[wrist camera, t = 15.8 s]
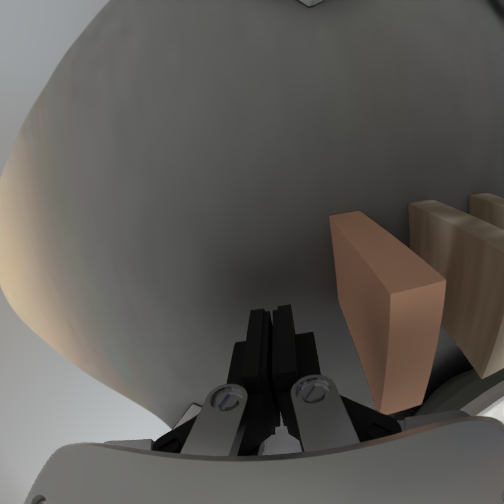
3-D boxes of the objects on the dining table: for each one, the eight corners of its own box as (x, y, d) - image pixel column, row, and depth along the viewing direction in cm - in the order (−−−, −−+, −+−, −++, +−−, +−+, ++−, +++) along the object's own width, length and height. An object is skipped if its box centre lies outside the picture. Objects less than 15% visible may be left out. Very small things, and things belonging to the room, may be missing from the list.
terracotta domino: (338, 301, 19) (378, 417, 9) (328, 215, 17) (390, 294, 7) (365, 295, 18) (421, 404, 9) (359, 210, 16) (446, 280, 7)
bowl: (400, 458, 27) (412, 504, 19) (351, 405, 22) (366, 478, 15) (510, 386, 22) (535, 424, 14) (509, 295, 17) (559, 341, 10)
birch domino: (432, 199, 16) (540, 250, 6) (431, 280, 18) (508, 365, 8) (407, 202, 16) (514, 259, 7) (408, 285, 18) (481, 379, 8)
